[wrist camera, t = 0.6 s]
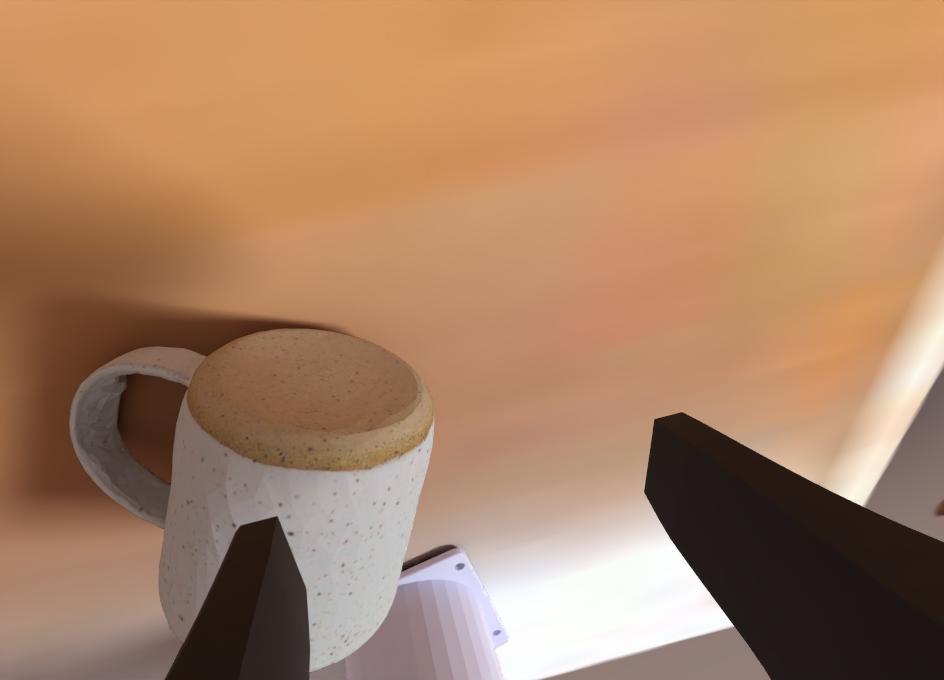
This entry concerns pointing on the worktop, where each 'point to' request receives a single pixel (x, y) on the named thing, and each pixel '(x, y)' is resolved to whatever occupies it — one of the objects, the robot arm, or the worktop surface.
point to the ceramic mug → (275, 468)
